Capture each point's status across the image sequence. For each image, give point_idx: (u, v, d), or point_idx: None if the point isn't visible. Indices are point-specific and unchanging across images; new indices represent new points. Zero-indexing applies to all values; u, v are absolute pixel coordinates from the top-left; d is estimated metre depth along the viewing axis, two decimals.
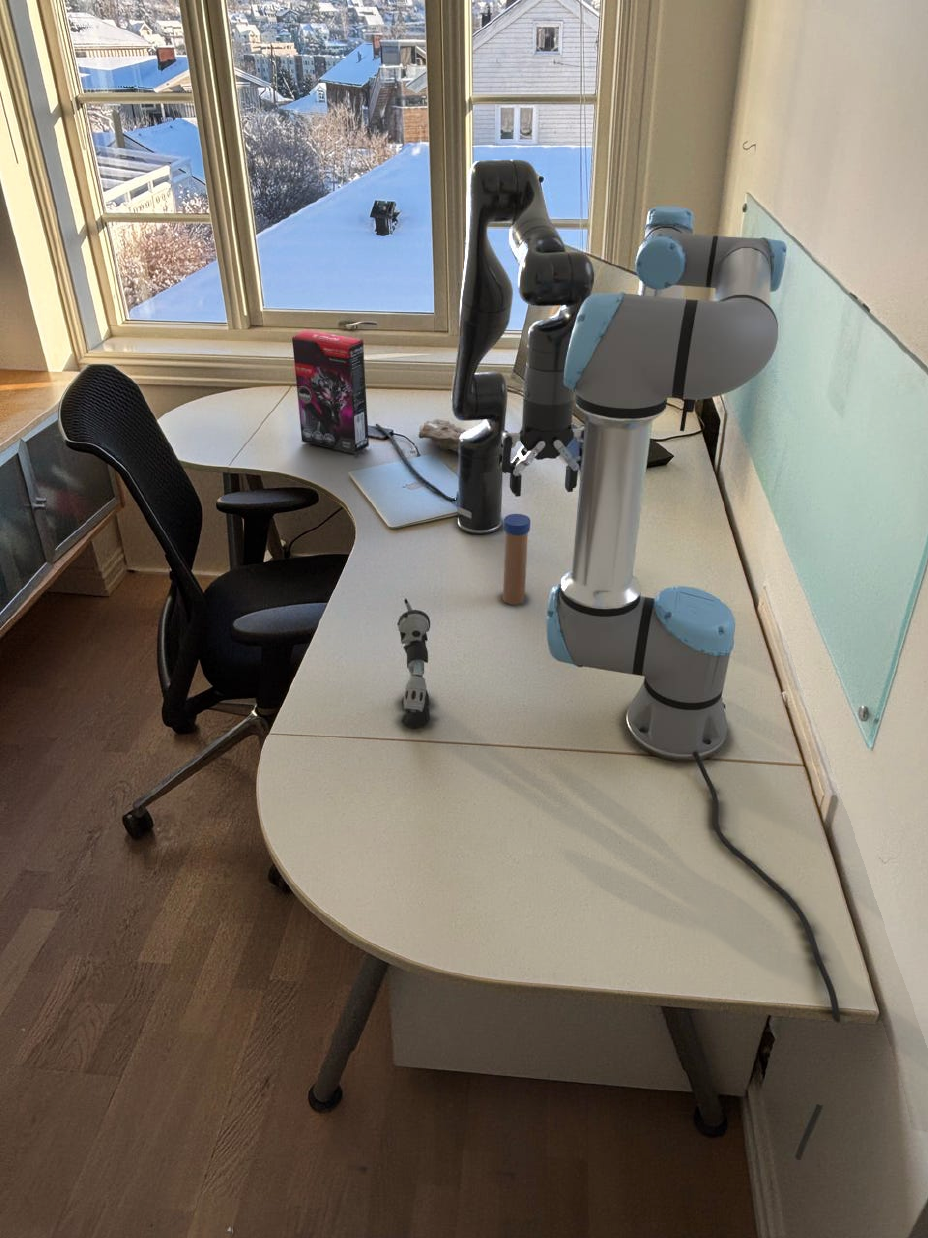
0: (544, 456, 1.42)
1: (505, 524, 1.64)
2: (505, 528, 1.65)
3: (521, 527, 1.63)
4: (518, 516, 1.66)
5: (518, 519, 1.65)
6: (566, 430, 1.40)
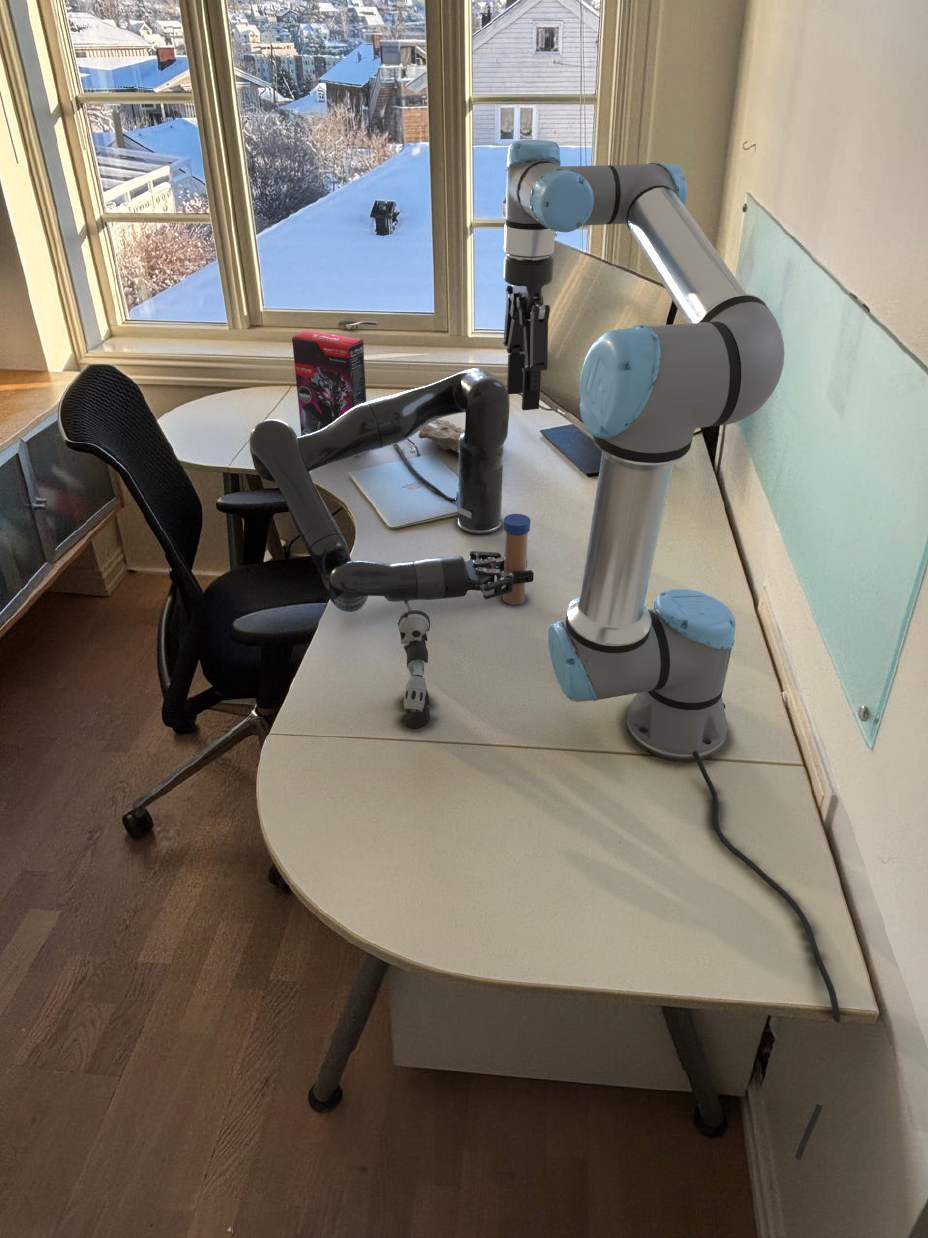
0: None
1: (505, 524, 1.64)
2: (505, 528, 1.65)
3: (521, 527, 1.63)
4: (518, 516, 1.66)
5: (518, 519, 1.65)
6: (465, 562, 1.71)
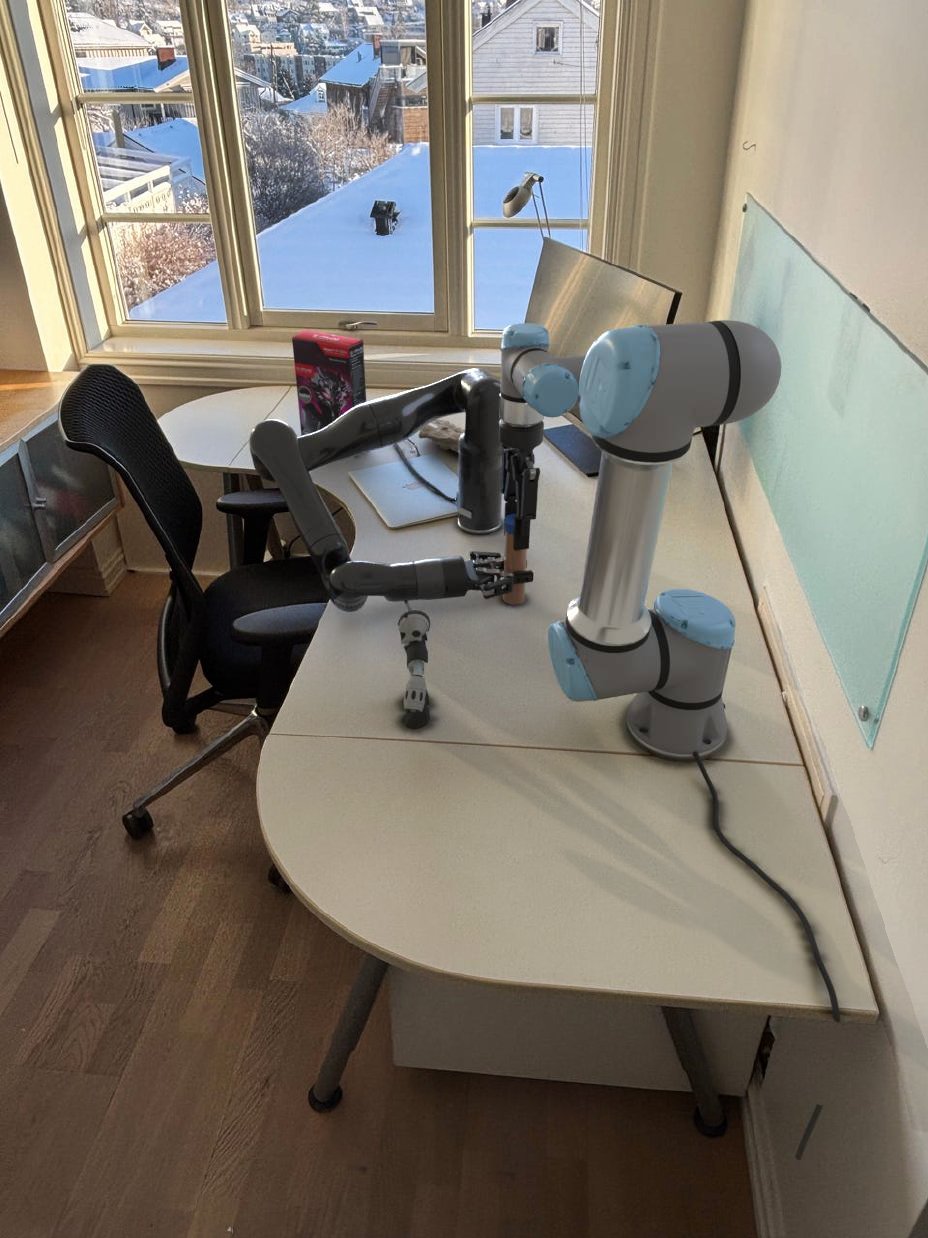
0: None
1: (505, 524, 1.64)
2: (505, 528, 1.65)
3: None
4: None
5: None
6: (465, 562, 1.71)
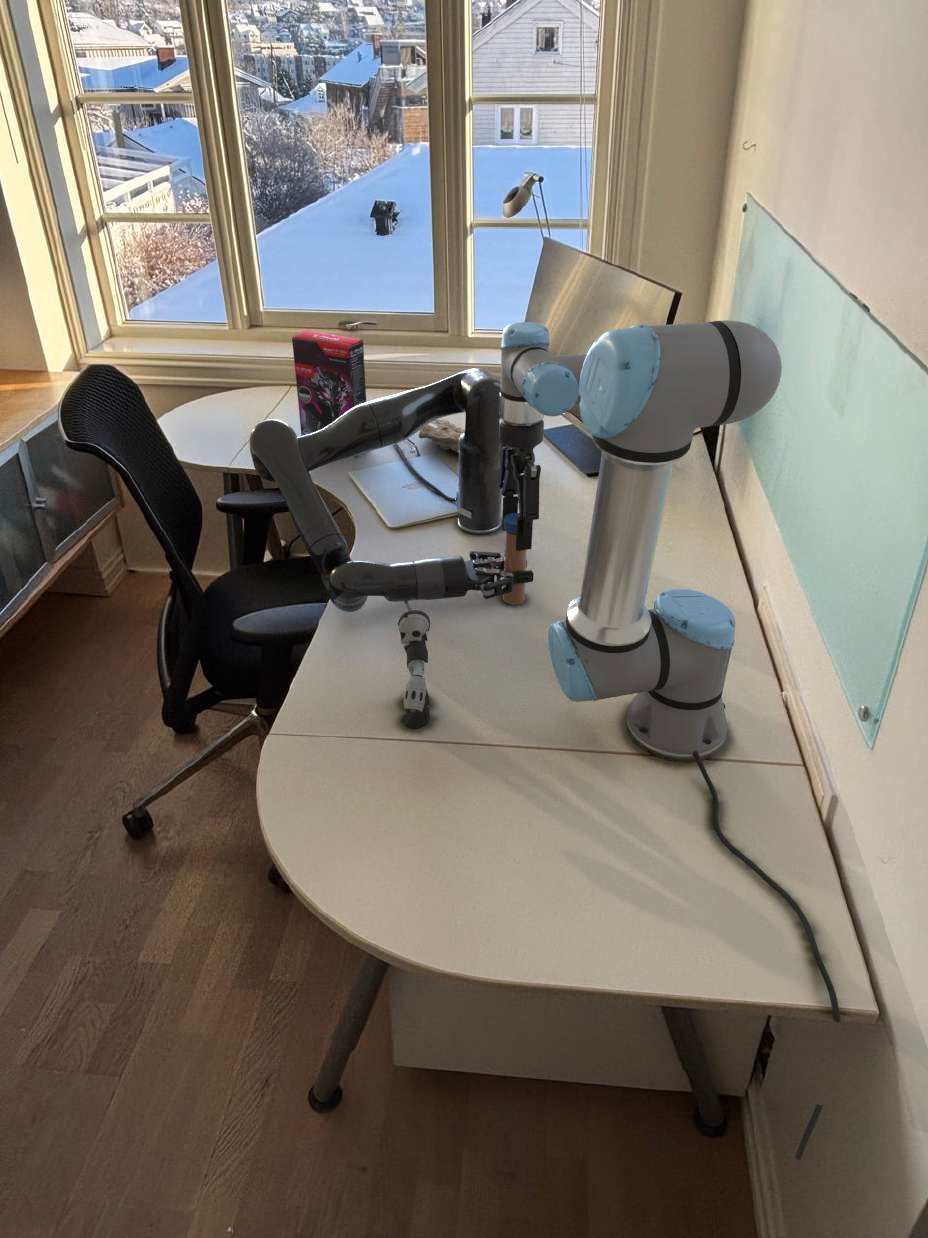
0: None
1: None
2: None
3: None
4: (510, 517, 1.65)
5: None
6: (465, 562, 1.71)
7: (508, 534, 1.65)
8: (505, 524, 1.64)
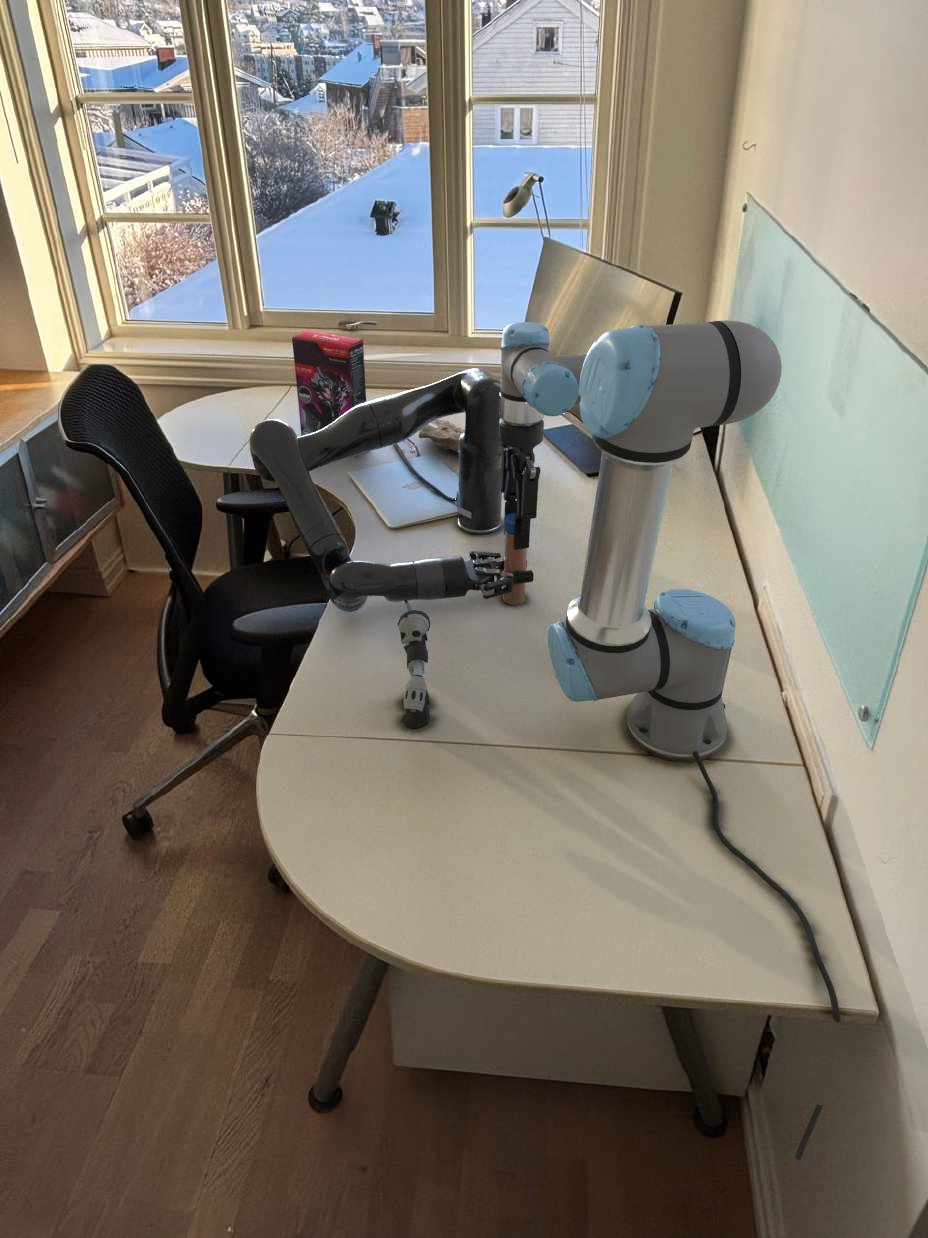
0: None
1: None
2: None
3: None
4: (510, 517, 1.65)
5: None
6: (465, 562, 1.71)
7: (508, 534, 1.65)
8: (505, 524, 1.64)
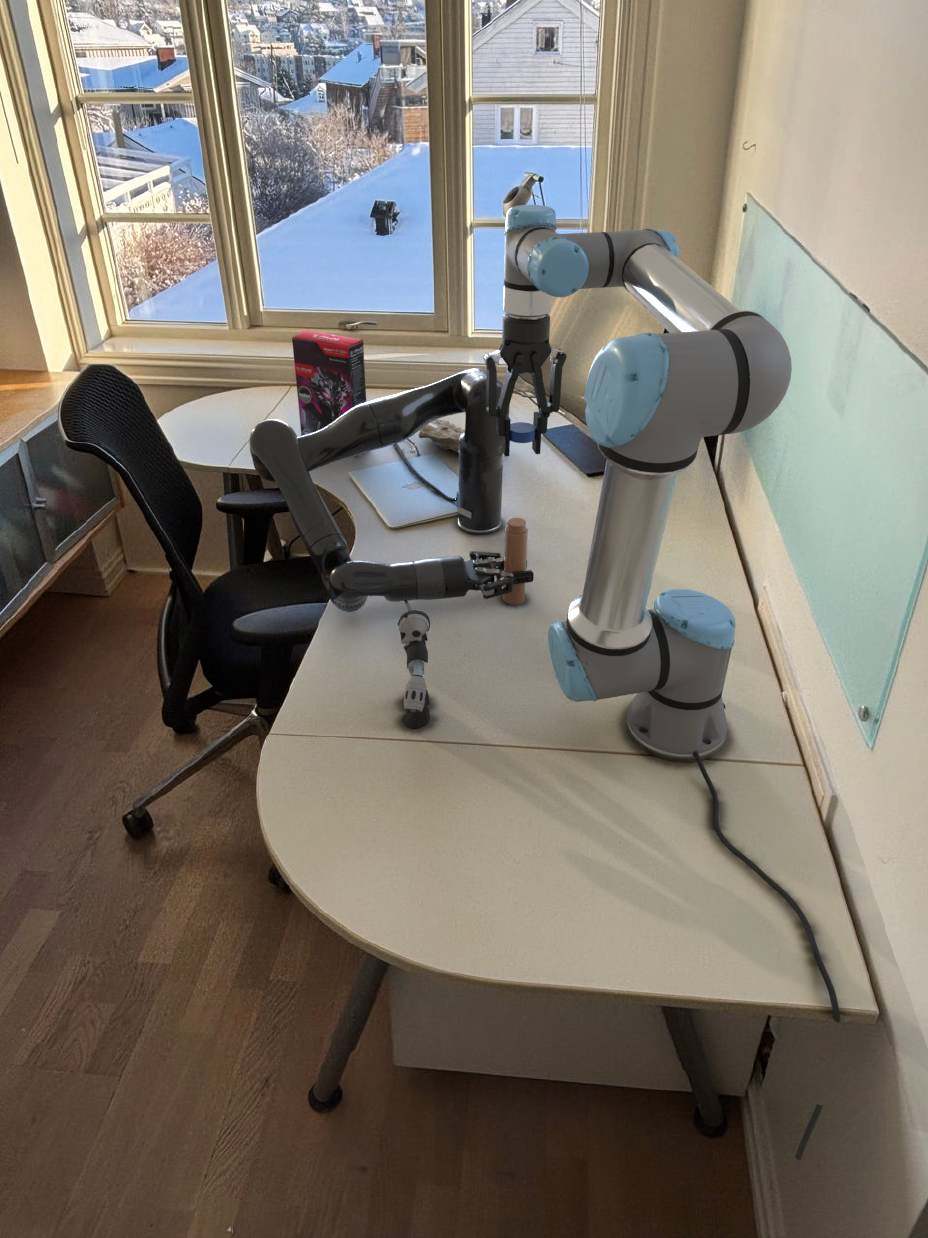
0: None
1: None
2: None
3: None
4: (518, 429, 1.54)
5: (520, 427, 1.55)
6: (465, 562, 1.71)
7: (508, 534, 1.65)
8: (527, 435, 1.53)
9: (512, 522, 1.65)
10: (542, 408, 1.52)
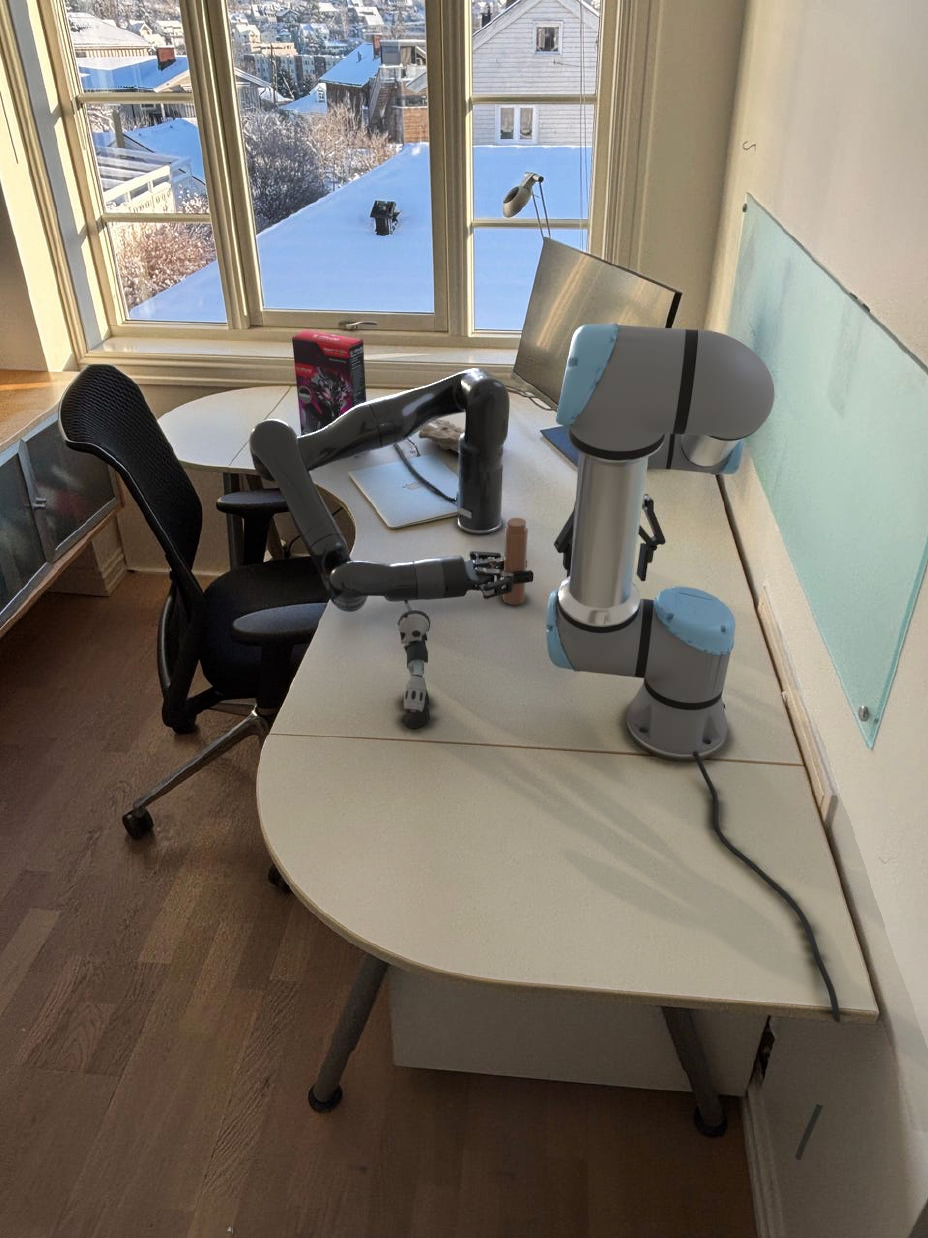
0: None
1: None
2: None
3: None
4: None
5: None
6: (465, 562, 1.71)
7: (508, 534, 1.65)
8: None
9: (512, 522, 1.65)
10: (648, 543, 1.66)
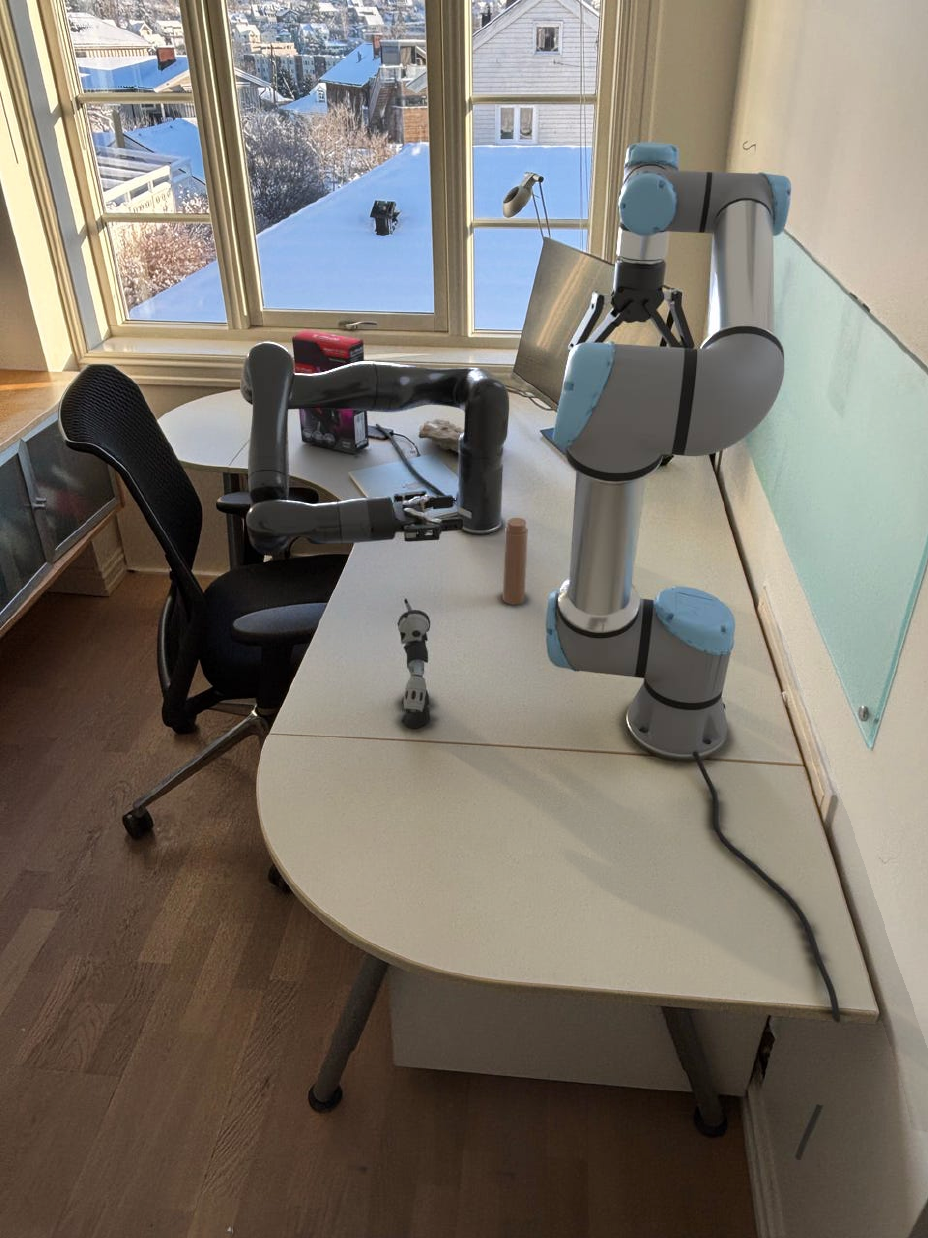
0: (421, 511, 1.60)
1: None
2: None
3: None
4: None
5: None
6: (395, 504, 1.62)
7: (508, 534, 1.65)
8: None
9: (512, 522, 1.65)
10: None
